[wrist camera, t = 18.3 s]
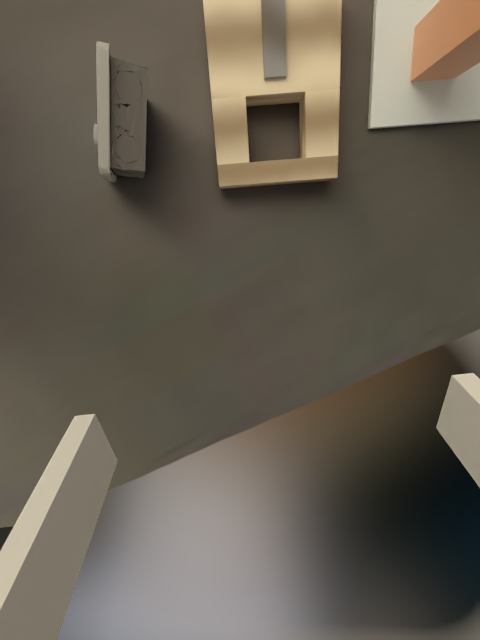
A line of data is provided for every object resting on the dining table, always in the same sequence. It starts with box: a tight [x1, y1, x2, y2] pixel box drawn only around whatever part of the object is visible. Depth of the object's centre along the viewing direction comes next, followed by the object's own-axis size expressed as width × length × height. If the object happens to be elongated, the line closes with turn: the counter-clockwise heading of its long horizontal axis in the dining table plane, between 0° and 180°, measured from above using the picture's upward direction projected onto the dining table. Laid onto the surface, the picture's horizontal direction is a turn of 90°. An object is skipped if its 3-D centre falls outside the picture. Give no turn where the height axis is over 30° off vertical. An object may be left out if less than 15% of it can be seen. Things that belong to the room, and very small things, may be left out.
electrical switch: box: [93, 41, 148, 183], centre depth 29 cm, size 9×5×9 cm, turn 173°
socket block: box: [203, 0, 342, 189], centre depth 30 cm, size 16×12×3 cm
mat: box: [368, 0, 480, 129], centre depth 31 cm, size 12×12×1 cm
